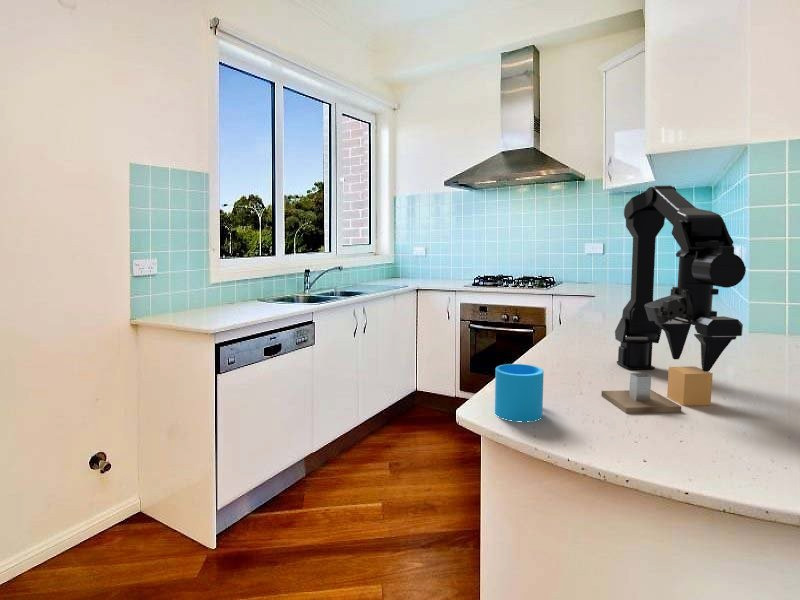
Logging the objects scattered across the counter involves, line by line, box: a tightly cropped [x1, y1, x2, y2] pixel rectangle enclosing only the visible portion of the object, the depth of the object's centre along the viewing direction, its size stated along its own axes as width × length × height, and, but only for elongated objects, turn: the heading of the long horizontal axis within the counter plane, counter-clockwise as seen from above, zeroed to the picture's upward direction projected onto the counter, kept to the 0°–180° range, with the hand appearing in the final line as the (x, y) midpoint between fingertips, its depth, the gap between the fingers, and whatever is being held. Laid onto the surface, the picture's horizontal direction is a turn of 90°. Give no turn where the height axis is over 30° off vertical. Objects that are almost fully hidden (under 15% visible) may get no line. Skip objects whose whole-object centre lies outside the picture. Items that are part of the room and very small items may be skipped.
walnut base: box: [600, 389, 682, 414], centre depth 94 cm, size 10×10×1 cm
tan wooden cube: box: [666, 366, 713, 407], centre depth 95 cm, size 5×5×6 cm
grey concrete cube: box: [629, 372, 652, 401], centre depth 94 cm, size 3×3×4 cm
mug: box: [494, 363, 544, 422], centre depth 90 cm, size 12×8×8 cm
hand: (690, 365), depth 95 cm, fingers open, 9 cm apart
